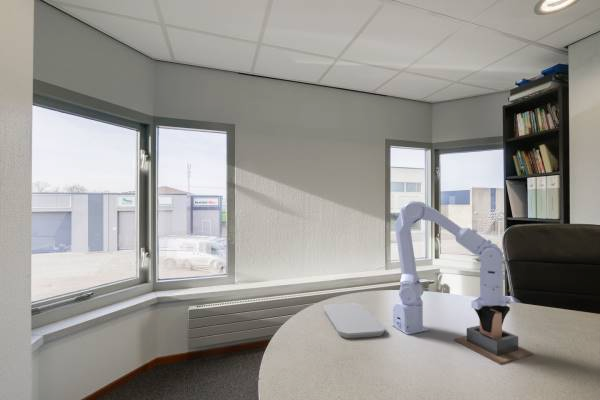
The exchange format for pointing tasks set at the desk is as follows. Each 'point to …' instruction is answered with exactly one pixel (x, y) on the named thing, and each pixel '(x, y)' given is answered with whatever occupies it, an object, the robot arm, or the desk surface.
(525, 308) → the desk surface
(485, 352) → the socket board
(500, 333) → the peg
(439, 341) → the desk surface
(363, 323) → the tablet
